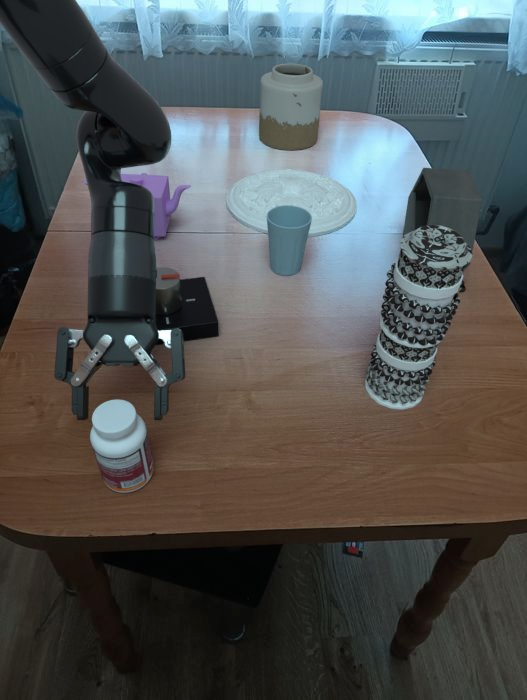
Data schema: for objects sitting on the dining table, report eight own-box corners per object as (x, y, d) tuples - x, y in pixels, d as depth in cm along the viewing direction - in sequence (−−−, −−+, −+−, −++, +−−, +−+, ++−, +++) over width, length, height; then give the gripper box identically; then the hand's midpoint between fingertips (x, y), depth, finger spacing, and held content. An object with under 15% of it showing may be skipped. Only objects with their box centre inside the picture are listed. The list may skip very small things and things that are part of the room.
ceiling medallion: (224, 236, 105) (224, 222, 103) (227, 172, 126) (227, 158, 123) (366, 238, 107) (369, 224, 105) (346, 174, 127) (348, 161, 125)
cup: (256, 262, 99) (258, 211, 92) (290, 251, 102) (294, 201, 95) (279, 284, 95) (283, 232, 87) (314, 271, 98) (320, 220, 91)
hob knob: (146, 316, 82) (142, 288, 79) (145, 294, 86) (141, 266, 83) (183, 313, 83) (181, 285, 79) (180, 291, 87) (178, 264, 83)
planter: (401, 210, 106) (432, 147, 86) (440, 213, 105) (481, 151, 85) (399, 292, 102) (432, 246, 82) (440, 295, 102) (483, 250, 81)
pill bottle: (121, 445, 69) (107, 386, 61) (163, 462, 67) (154, 404, 59) (91, 483, 64) (72, 425, 57) (135, 503, 63) (121, 446, 55)
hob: (120, 350, 81) (117, 334, 79) (115, 301, 89) (112, 286, 87) (218, 336, 84) (218, 321, 82) (205, 290, 92) (204, 275, 90)
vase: (257, 149, 135) (259, 77, 124) (260, 125, 147) (262, 58, 135) (318, 152, 135) (325, 81, 124) (316, 128, 147) (323, 61, 135)
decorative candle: (382, 355, 82) (420, 207, 65) (437, 385, 78) (494, 234, 61) (349, 389, 77) (382, 237, 60) (407, 422, 73) (460, 269, 56)
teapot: (125, 258, 99) (116, 203, 91) (91, 227, 106) (80, 174, 98) (194, 231, 106) (191, 179, 99) (157, 204, 113) (152, 154, 106)
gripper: (47, 271, 58) (45, 423, 57) (181, 272, 58) (180, 423, 58) (69, 281, 65) (67, 416, 65) (188, 283, 66) (187, 416, 65)
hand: (120, 419), depth 61 cm, fingers open, 8 cm apart
